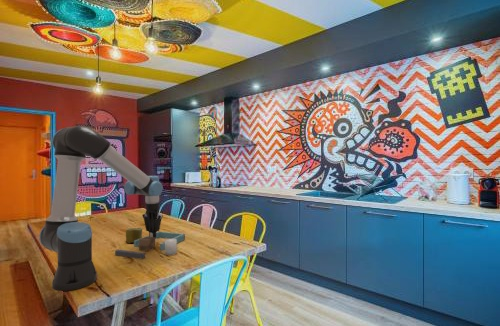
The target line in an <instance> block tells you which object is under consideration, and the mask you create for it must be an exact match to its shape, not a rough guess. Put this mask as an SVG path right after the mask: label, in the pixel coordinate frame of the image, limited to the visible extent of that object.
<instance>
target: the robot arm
mask: <svg viewBox="0 0 500 326" xmlns="http://www.w3.org/2000/svg"><path fill="white" fill-rule="evenodd" d="M51 144H52V147H53V149H54V154H53V155H54V158H56V159H57V165H56V171H55V179H54V180H55V182H54V189H53V195H52V196H53V197H52V203H51V210H50V215H49V216H48V217H47V218H46V219H45V223H44V226H43V227H42V228H41V229H40V231H39V234H38V236H39V237H38V239H39V242H40V244H41V245H42V247H43V248H44V249H47V250H48V251H50V252H51V251H52V252H55V253H56V255H57V268H56V270H55V274H54V277H53V279H52V282H51V283H52V284H51V285H52V287H51V288H52V289H53V290H54V291H58V292H68V291H73V290H74V291H75V290H78V289H82V288H85V287H87V286H90V285H92V284H93V283H95V282H96V281H97V280H98V273H97V269H96V267H95V264H94V262H93V245H92V244H93V242H92V241H93V239H92V238H93V237H92V236H93V231H92V226H91V225H90V224H89V223H87V222H85V221H84V222H83V221H82V222H79V218H78V217H77V216H75V215H76V205H77V196H78V191H79V190H78V189H79V181H80V173H81V172H80V171H81V165H82V164H81V163H82V162H83V161H84V160H86V158H87V157H86V156H90V157H91V158H93V159H94V160H99V161H100V162H102V163H103V164H105V165H106V166H107V167H109V168H110V169H111V170H113V171H114V172H116V173H117V174H118V175H119V176H121V177H122V178H124V179H125V180H126V181H125V183H124V186H123V187H124V193H125V194H126V195H128V196H131V195H132V196H134V195H142V196H145V197H144V199H145V203H144V204H145V210H146V211H145V213H144V214H142V218H143V222H144V227H145V231H146V232H148V236H149V237H155V238H156V233H157V232H160V228H161V225H162V224H161V223H162V219H163V217H164V215H163V214H160V211H159V210H160V195H161V194H162V193H163V189H164V187H163V186H164V185H163V183H161V181H160V177H159V176H158V175H147V174H146V173H145V172H144V171H142V170H141V169H140V168H139V167H137V166H136V165H135V164H134V163H132V162H131V161H130V160H129V159H127V158H126V157H125V156H123V154H121V153H120V152H119V151H118V150H116V149H115V148H114V147H112V144H111V142H110V141H109V140H108V139H107V138H105V137H104V136H103V135H101V134H100V133H99V132H97V131H96V130H94V129H92V128H91V127H88V126H85V125H75V126H68V127H64V128H61V129H59V130H57V131H56V132H55V133H54V134H53V136H52V140H51Z"/></svg>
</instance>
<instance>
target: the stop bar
mask: <svg viewBox="0 0 500 326" xmlns="http://www.w3.org/2000/svg"><path fill="white" fill-rule="evenodd" d="M117 255H118V257H119V256H120V257H125V258H133V259H139V260H145V258H146V253H145V252H142V251H141V252H140V251H132V250H124V249H116V250H115V251H114V256H117Z"/></svg>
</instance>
